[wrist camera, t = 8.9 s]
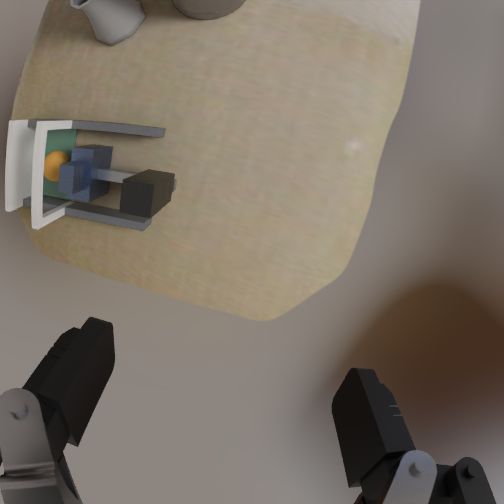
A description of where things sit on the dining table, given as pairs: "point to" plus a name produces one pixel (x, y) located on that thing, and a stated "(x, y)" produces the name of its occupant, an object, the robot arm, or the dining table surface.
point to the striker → (99, 174)
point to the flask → (111, 18)
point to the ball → (54, 164)
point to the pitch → (36, 184)
